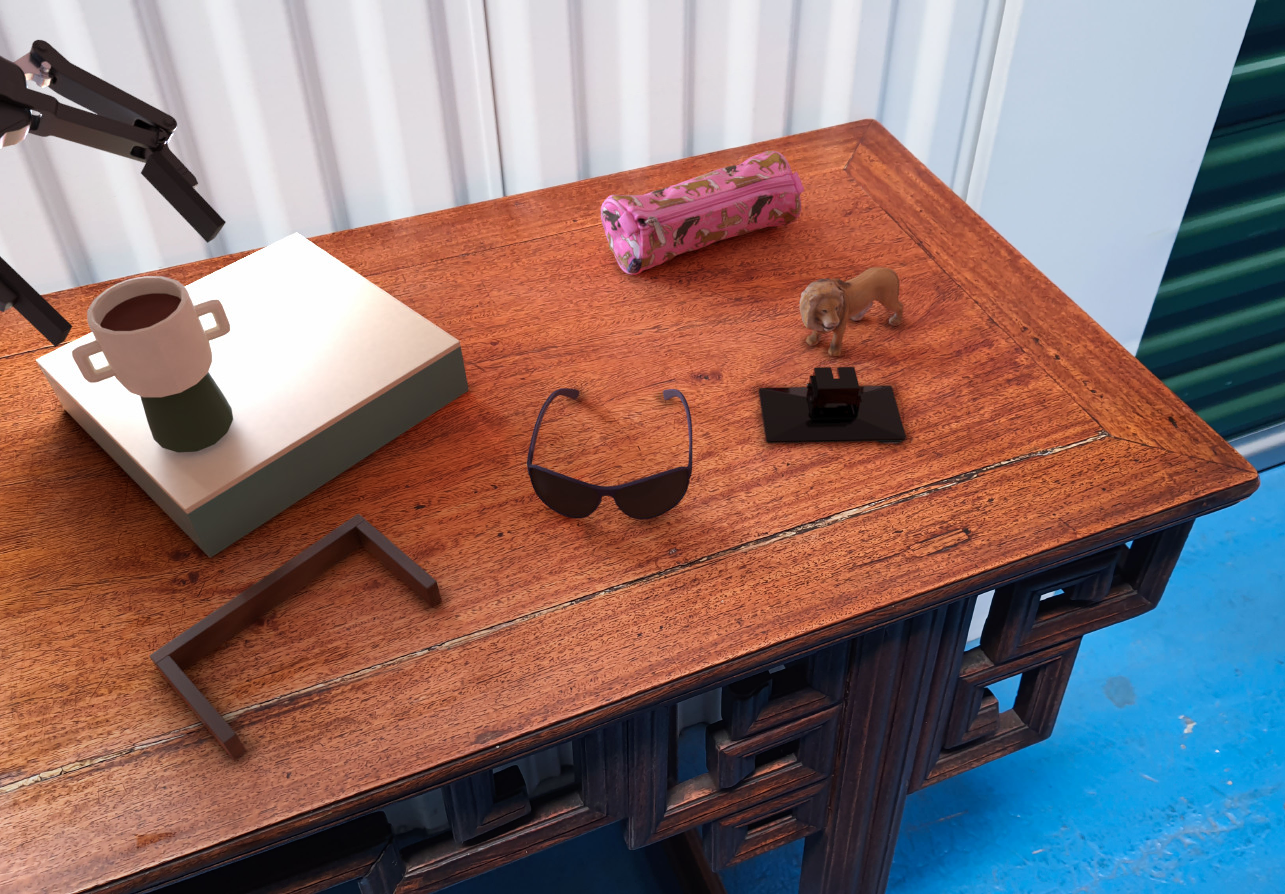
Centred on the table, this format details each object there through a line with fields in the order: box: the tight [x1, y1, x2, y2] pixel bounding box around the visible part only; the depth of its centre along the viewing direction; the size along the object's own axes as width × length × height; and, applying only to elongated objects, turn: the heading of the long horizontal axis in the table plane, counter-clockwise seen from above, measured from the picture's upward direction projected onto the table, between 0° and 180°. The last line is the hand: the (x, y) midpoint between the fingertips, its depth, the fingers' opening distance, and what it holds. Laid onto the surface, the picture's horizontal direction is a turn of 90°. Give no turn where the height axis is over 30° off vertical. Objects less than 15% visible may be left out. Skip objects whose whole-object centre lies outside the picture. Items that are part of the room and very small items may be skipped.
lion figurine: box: [798, 266, 904, 357], centre depth 95 cm, size 15×5×9 cm, turn 133°
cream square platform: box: [35, 232, 470, 559], centre depth 91 cm, size 27×26×6 cm
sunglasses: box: [526, 387, 694, 521], centre depth 85 cm, size 14×16×5 cm
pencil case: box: [600, 150, 805, 276], centre depth 106 cm, size 21×9×9 cm, turn 118°
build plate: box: [758, 366, 907, 445], centre depth 89 cm, size 12×7×5 cm, turn 91°
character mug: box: [72, 275, 233, 453], centre depth 77 cm, size 11×7×13 cm, turn 124°
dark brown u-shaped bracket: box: [148, 513, 443, 762], centre depth 73 cm, size 18×10×2 cm, turn 137°
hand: (145, 282), depth 69 cm, fingers open, 13 cm apart
